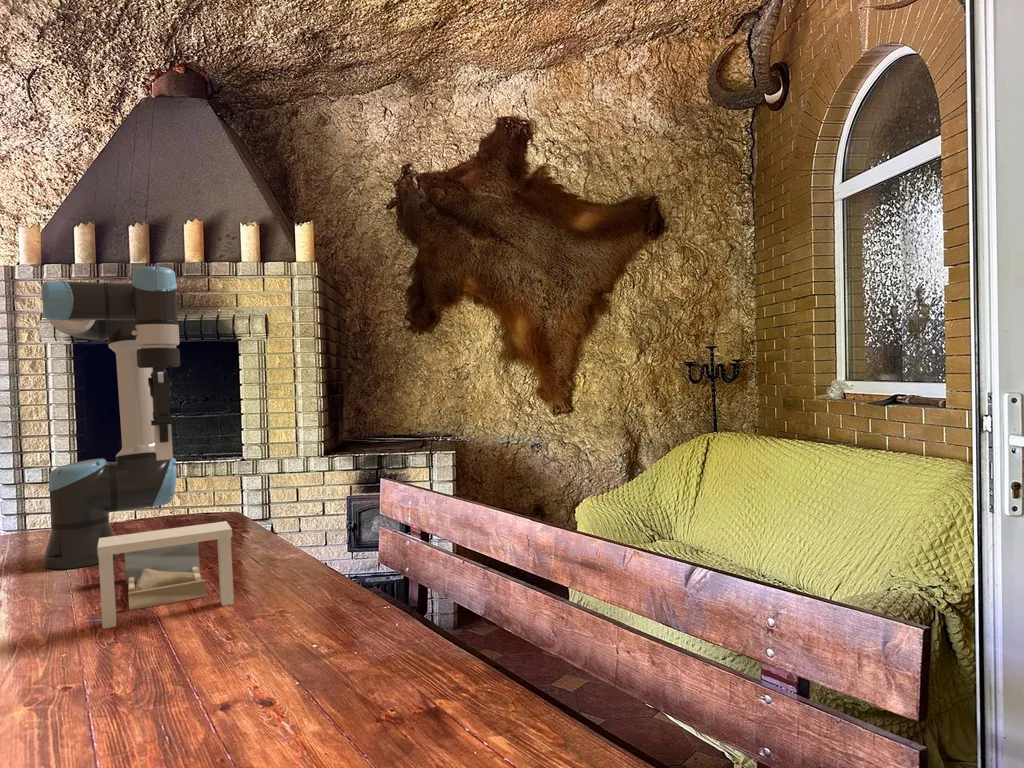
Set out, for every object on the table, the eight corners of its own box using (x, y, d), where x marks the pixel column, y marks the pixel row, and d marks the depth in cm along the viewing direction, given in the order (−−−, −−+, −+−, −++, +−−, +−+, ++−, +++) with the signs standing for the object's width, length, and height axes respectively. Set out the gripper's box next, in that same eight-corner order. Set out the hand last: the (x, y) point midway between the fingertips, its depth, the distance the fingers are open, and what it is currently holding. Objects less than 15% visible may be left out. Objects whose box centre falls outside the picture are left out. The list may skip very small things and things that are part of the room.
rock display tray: (126, 579, 147) (123, 537, 147) (198, 567, 154) (196, 527, 153) (126, 610, 127) (123, 562, 126) (209, 595, 133) (206, 549, 133)
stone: (136, 601, 130) (135, 576, 130) (127, 595, 135) (125, 570, 135) (198, 586, 138) (197, 562, 138) (187, 581, 143) (186, 557, 143)
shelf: (103, 619, 123) (99, 538, 122) (230, 596, 133) (226, 521, 132) (102, 633, 116) (97, 547, 115) (235, 607, 126) (231, 528, 125)
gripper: (136, 349, 144) (141, 451, 144) (136, 345, 122) (142, 465, 123) (176, 348, 147) (181, 448, 148) (183, 344, 125) (188, 460, 126)
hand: (163, 456), depth 135 cm, fingers open, 13 cm apart
